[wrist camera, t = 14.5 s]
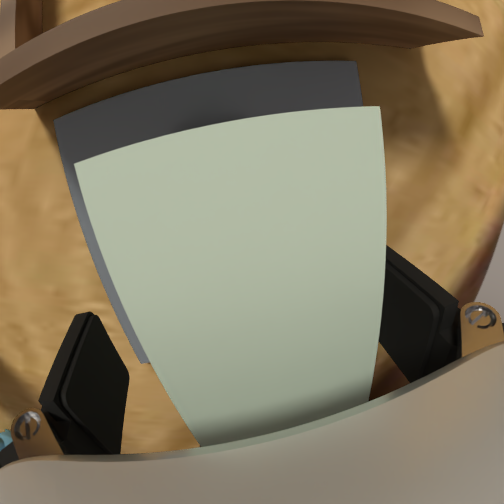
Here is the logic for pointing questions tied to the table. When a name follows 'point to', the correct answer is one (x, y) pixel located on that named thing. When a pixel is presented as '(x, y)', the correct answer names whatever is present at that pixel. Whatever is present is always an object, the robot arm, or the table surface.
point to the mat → (193, 123)
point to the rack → (196, 35)
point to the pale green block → (250, 263)
